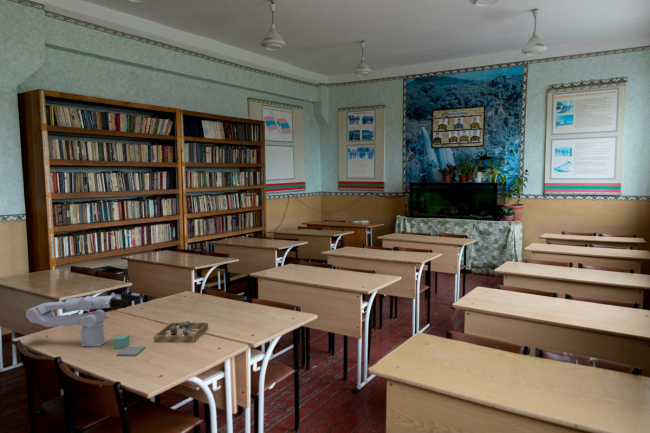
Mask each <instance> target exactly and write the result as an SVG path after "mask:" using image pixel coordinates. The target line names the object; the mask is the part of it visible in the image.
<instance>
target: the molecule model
mask: <svg viewBox="0 0 650 433" xmlns="http://www.w3.org/2000/svg"><path fill="white" fill-rule="evenodd" d="M191 323H196V321H195V320H193V321H190V320H186V321H181V322H179V326H177V327H176V326H171V328H170V330H169V331H166V333H167V334H168V333H170V334H172V335H175V334H176V333H178V330H179V328H178V327H180V328H183V331H182V335H181V336H189V334H190V335H191V334H193V335H194V334H195V333H194V332H192V331H191V330H189V329H185V328H184V327H190V325H191Z"/></svg>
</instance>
